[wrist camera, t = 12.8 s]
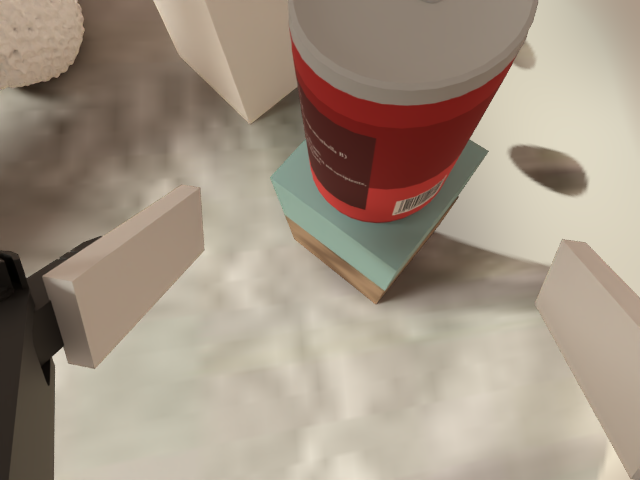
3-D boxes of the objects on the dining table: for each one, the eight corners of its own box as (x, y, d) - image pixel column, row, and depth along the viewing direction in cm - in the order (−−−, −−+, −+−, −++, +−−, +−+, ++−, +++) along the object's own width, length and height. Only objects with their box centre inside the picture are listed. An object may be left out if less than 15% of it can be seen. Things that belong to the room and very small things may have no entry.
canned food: (461, 126, 23) (564, -78, 12) (422, 248, 20) (508, 124, 10) (339, 92, 24) (339, -121, 13) (290, 203, 22) (244, 51, 11)
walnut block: (294, 239, 34) (284, 214, 28) (358, 167, 36) (360, 130, 30) (375, 304, 32) (382, 291, 26) (439, 224, 33) (458, 196, 28)
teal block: (284, 215, 28) (270, 177, 22) (359, 130, 30) (363, 75, 24) (384, 291, 26) (396, 270, 20) (458, 194, 28) (488, 151, 22)
